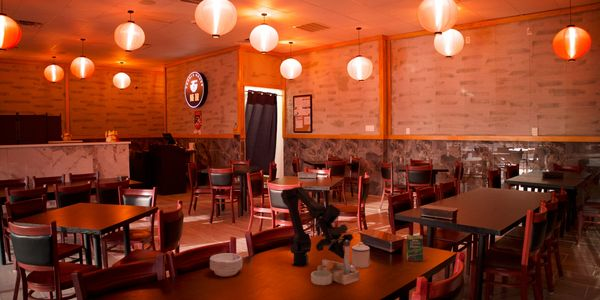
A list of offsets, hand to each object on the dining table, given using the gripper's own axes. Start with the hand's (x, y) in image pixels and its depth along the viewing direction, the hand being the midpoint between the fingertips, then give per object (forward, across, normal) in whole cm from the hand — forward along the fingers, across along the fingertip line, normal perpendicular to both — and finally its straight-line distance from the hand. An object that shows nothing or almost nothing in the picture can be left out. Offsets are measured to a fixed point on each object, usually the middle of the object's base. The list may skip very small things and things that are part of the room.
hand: (343, 258), depth 195 cm
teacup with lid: (-2, +24, +18) cm, 30 cm away
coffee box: (+8, +50, +8) cm, 52 cm away
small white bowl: (+3, -7, +13) cm, 15 cm away
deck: (+3, +3, +12) cm, 13 cm away
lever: (+1, +1, +8) cm, 9 cm away
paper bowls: (-23, -35, +39) cm, 57 cm away
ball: (-2, -1, +10) cm, 10 cm away
